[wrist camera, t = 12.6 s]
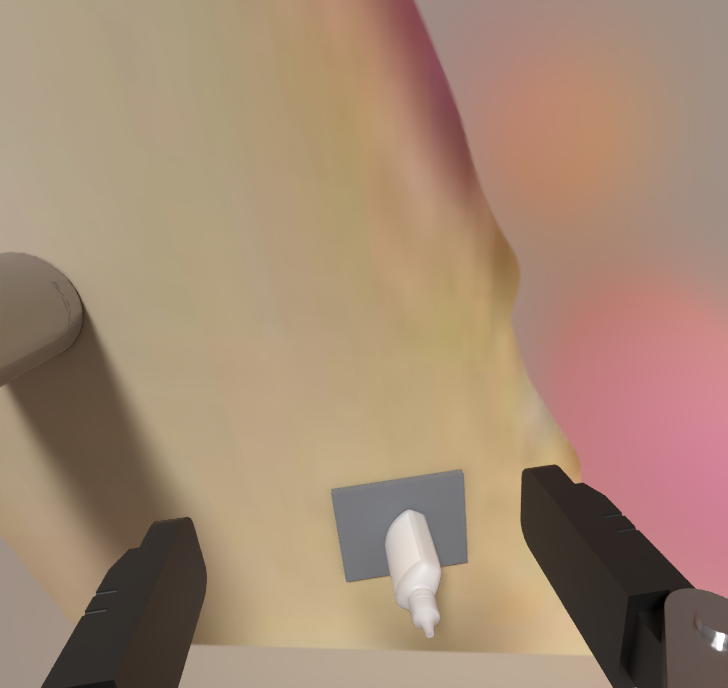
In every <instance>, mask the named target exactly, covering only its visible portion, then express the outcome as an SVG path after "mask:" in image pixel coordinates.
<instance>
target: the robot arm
mask: <svg viewBox="0 0 728 688" xmlns="http://www.w3.org/2000/svg"><path fill="white" fill-rule="evenodd" d="M82 323H83V311H82V306H81V302H80V299H79V297H78V295H77V293H76V290H75V289H74V287H73V286H72V284H71V283H70V282H69V280H68V279H67V278H66V277H65V276H64V275H63V274H62V273H61V272H60V271H59V270H58V269H56V268H55V267H53V266H52V265H50V264H49V263H47V262H45V261H43V260H41V259H39V258H37V257H34V256H30V255H26V254H22V253H2V254H0V387H1V386H3V385H5V384H7V383H8V382H10V381H12V380H14V379H15V378H17V377H19V376H21V375H22V374H24V373H26V372H28V371H29V370H31V369H33V368H35V367H37V366H39V365H40V364H42V363H44V362H46V361H47V360H49V359H51V358H53V357H54V356H56V355H58V354H60V353H61V352H63V351H64V350H66V349H68V348H69V347H70V346H71V345H72V344H73V343H74V342H75V340H76V338H77V337H78V335H79V333H80V330H81V326H82ZM521 527H522V532H523V535H524V538H525V541H526V543H527V545H528V547H529V549H530V551H531V552H532V554H533V556H534V557H535V559H536V561H537V562H538V564H539V566H540V567H541V569H542V571H543V572H544V574H545V575H546V577H547V579H548V580H549V582H550V584H551V585H552V587H553V589H554V590H555V592H556V594H557V595H558V597H559V599H560V600H561V602H562V604H563V605H564V607H565V609H566V610H567V612H568V614H569V615H570V617H571V619H572V620H573V622H574V624H575V625H576V627H577V629H578V630H579V632H580V634H581V635H582V637H583V638H584V640H585V642H586V643H587V645H588V647H589V648H590V650H591V652H592V653H593V655H594V657H595V658H596V660H597V662H598V663H599V665H600V667H601V668H602V670H603V672H604V673H605V675H606V677H607V678H608V680H609V682H610V683H611V685H612V687H613V688H635V687H637V688H728V599H727V598H725V597H723V596H720V595H718V594H715V593H712V592H709V591H705V590H700V589H696V588H695V587H694V586H693V585H691V584H690V582H689V581H688V580H687V579H686V578H685V577H684V576H683V575H682V574H681V573H680V572H679V571H678V570H677V569H676V568H675V567H674V566H673V565H672V564H671V563H670V562H669V561H668V560H667V559H666V558H665V557H664V556H663V555H662V554H661V553H660V551H658V549H656V547H655V546H653V544H652V543H651V542H650V541H649V540H648V539H647V538H646V537H645V536H644V535H643V534H642V533H641V532H640V531H639V530H636V528H635V526H634V525H633V524H632V523H631V522H630V521H629V520H628V519H627V518H626V516H622V512H621V511H620V510H619V509H618V508H617V507H616V506H615V505H614V504H613V503H612V502H611V501H610V500H609V499H608V498H607V497H606V496H605V495H603V494H602V493H600V492H598V491H596V490H595V489H593V488H591V487H589V486H588V485H586V484H584V483H578V484H574V483H573V481H572V480H571V479H570V478H569V477H568V476H567V475H566V474H565V473H564V471H563V470H562V469H561V468H560V467H559V466H557V465H547V466H540V467H533V468H527V469H524V470H523V472H522V484H521ZM206 584H207V574H206V567H205V563H204V559H203V556H202V552H201V549H200V545H199V542H198V538H197V535H196V531H195V528H194V524H193V522H192V520H191V518H189V517H183V518H177V519H170V520H163V521H156V522H154V523H153V524H152V525H151V527H150V528H149V530H148V532H147V534H146V536H145V538H144V540H143V542H142V544H141V546H140V547H139V548H134V549H129V550H128V551H127V552H126V553H125V554H124V555H123V556H122V557H121V558H120V559H119V560H118V561H117V562H116V563H115V564H114V565H113V566H112V567H111V568H110V569H109V570H108V572H107V574H106V576H105V577H104V579H103V581H102V583H101V584H100V586H99V588H98V590H97V591H96V596H94V597H93V598H92V600H91V602H90V603H89V605H88V607H87V609H86V610H85V616H82V617H81V619H80V621H79V622H78V624H77V626H76V628H75V629H74V631H73V633H72V635H71V637H70V638H69V640H68V642H67V644H66V645H65V647H64V649H63V650H62V652H61V654H60V655H59V657H58V659H57V661H56V663H55V664H54V666H53V668H52V669H51V671H50V673H49V675H48V676H47V678H46V680H45V681H44V683H43V685H42V687H41V688H178V686H179V682H180V679H181V675H182V672H183V669H184V665H185V662H186V658H187V655H188V652H189V648H190V645H191V642H192V638H193V635H194V631H195V628H196V625H197V621H198V618H199V614H200V611H201V608H202V604H203V601H204V597H205V593H206Z"/></svg>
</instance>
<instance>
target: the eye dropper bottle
mask: <svg viewBox="0 0 728 688" xmlns="http://www.w3.org/2000/svg"><path fill="white" fill-rule="evenodd" d="M385 548H386V554H387V560H388V565H389V571H390V576H391V582H392V587H393V592H394V597H395V601H396V603H397V605H398V606H400V607H401V608H404V609H407V610H410V612H411V617H412V622H413V624H414V626H416V627H417V628H419V629H423V630H424V632H425V635H426V637H427V638H432V637H434V626H436V625H437V623H438V622H439V620H440V613H439V610H438V606H437V603H436V599H435V594H436V592H437V590H438V587H439V583H440V579H441V566H440V563H439V560H438V556H437V553H436V550H435V547H434V543H433V540H432V537H431V534H430V531H429V528H428V525H427V521H426V518H425V516H424V515H423V514H421V513H419V512H416V511H414V510H406V511H404V512H403V513H402V514H400V515H399V516H398V517H397V518H396V519H395V520H394V522H393V523H392V524H391V526H390V528H389V530H388V532H387V535H386V540H385Z"/></svg>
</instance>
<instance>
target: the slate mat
mask: <svg viewBox="0 0 728 688" xmlns="http://www.w3.org/2000/svg"><path fill="white" fill-rule="evenodd" d="M331 493H332V500H333V506H334V512H335V518H336V524H337V530H338V536H339V542H340V548H341V554H342V560H343V566H344V572H345V578H346V582H349V581H355V580H362V579H368V578H374V577H380V576H386V575H390V571H389V565H388V560H387V554H386V548H385V540H386V535H387V532H388V530H389V528H390V526H391V524H392V523H393V522H394V520H395V519H396V518H397V517H398V516H399V515H400V514H402V513H403V512H404V511H406V510H414V511H416V512H419V513H421V514H423V515H424V516H425V518H426V521H427V525H428V528H429V531H430V534H431V537H432V540H433V543H434V547H435V550H436V553H437V556H438V560H439V563H440V566H447V565H453V564H459V563H465V562H468V561H467V538H466V516H465V493H464V474H463V472H462V470H455V471H448V472H442V473H435V474H429V475H422V476H416V477H409V478H403V479H396V480H390V481H383V482H376V483H370V484H363V485H357V486H350V487H344V488H337V489H331Z"/></svg>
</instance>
